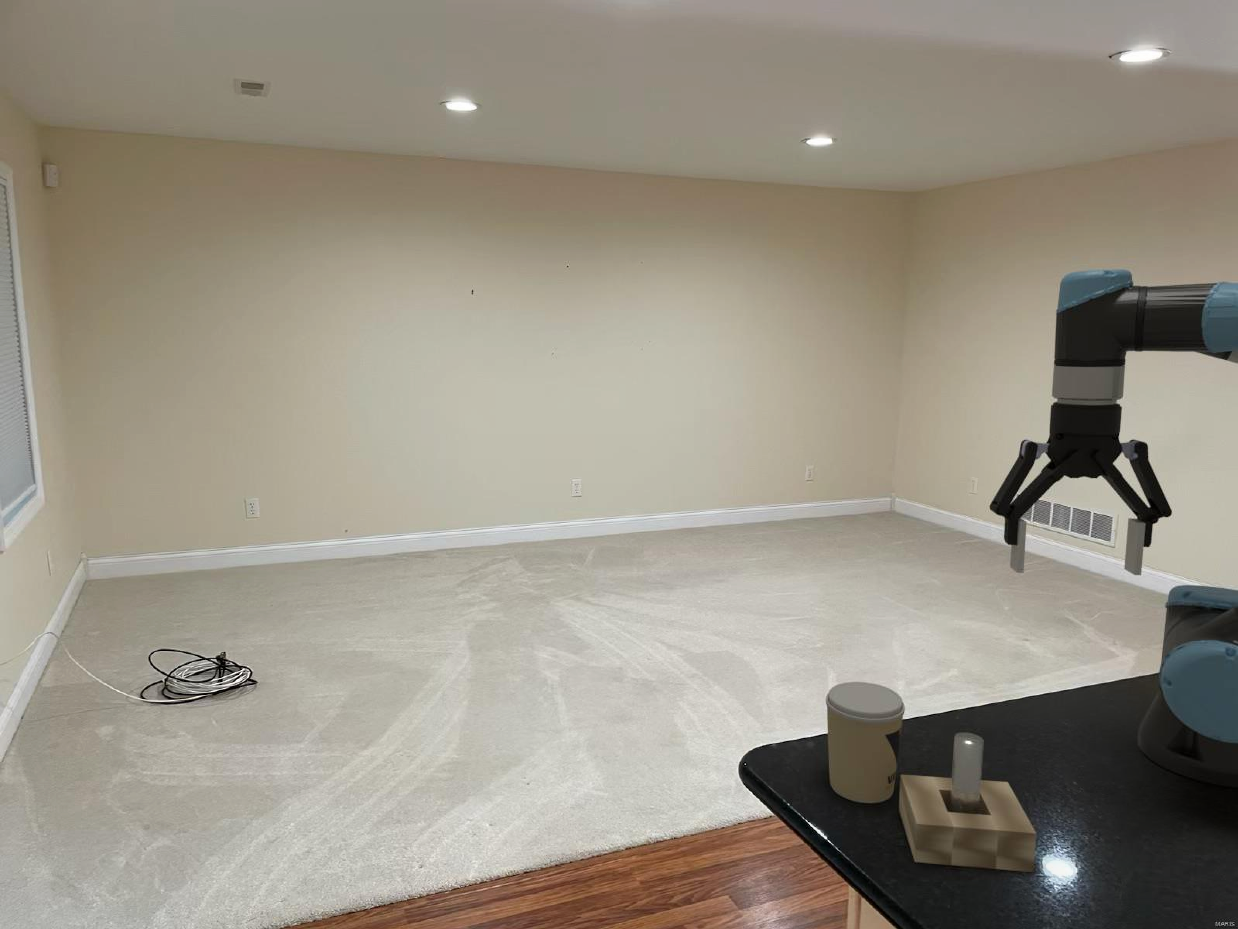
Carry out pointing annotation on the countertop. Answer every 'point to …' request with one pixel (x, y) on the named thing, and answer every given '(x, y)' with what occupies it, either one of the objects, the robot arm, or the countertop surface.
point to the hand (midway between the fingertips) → (1074, 571)
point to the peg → (966, 773)
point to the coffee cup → (863, 740)
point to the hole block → (966, 826)
